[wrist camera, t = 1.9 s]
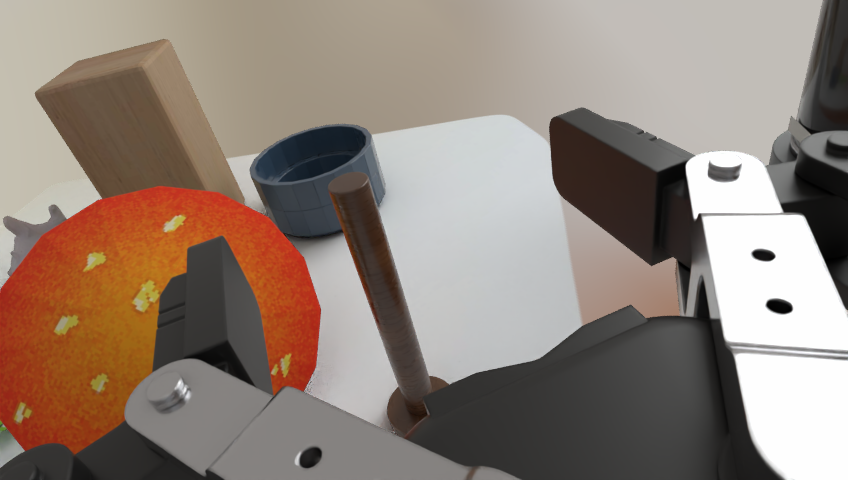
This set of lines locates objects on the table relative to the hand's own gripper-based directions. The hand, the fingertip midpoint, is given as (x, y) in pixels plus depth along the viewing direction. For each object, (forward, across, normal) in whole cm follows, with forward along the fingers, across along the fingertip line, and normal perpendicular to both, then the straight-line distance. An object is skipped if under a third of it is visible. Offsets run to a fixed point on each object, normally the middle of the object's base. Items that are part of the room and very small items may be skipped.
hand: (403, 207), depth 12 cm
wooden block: (+48, +15, +23) cm, 55 cm away
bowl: (+43, 0, +23) cm, 49 cm away
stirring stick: (+12, 0, +23) cm, 26 cm away
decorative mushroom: (+21, +14, +23) cm, 34 cm away
